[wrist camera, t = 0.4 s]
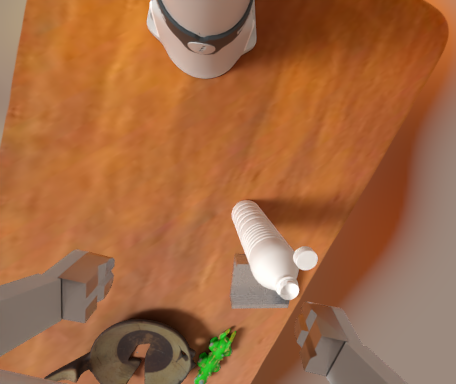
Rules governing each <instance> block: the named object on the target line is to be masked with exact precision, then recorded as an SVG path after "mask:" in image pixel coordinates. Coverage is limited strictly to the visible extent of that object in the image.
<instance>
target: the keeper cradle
mask: <svg viewBox="0 0 456 384" xmlns="http://www.w3.org/2000/svg"><path fill="white" fill-rule="evenodd" d="M230 301H231V307H232V308H288V305H289V300H285V299H283V298H282V297H281V296H280V295H278V294H277V292H276V291H275V290H271V289H268V288H266V287H264V286H262V285H261V284H260V283H259V282H258V281H257V280H256V279H255V278H254V276H253V274H252V271H251V268H250V265H249V262H248V260H247V257H246V254H235V255H234V263H233V271H232V280H231V288H230Z"/></svg>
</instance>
